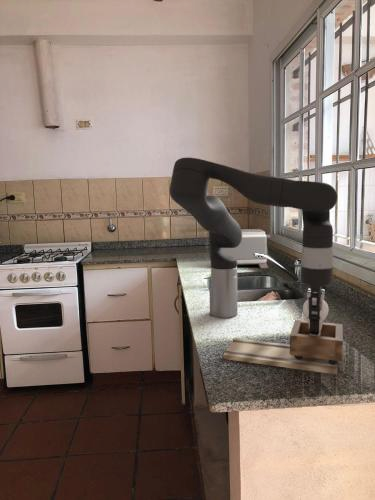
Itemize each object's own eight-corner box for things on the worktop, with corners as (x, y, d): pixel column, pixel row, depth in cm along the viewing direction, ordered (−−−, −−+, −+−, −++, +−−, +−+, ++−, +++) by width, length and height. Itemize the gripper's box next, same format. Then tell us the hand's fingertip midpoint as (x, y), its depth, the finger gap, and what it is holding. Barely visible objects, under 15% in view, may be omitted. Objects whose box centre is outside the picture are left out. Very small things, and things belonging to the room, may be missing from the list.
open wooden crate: (289, 361, 96) (289, 335, 95) (294, 343, 107) (295, 319, 106) (341, 368, 91) (342, 341, 90) (341, 348, 102) (342, 324, 101)
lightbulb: (311, 345, 95) (312, 302, 93) (297, 336, 100) (298, 295, 99) (332, 341, 96) (334, 299, 94) (318, 333, 102) (319, 292, 100)
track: (223, 358, 102) (223, 353, 102) (234, 342, 113) (234, 336, 113) (337, 374, 92) (337, 368, 92) (337, 354, 103) (337, 348, 103)
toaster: (273, 267, 218) (274, 231, 215) (213, 269, 218) (212, 233, 215) (266, 261, 237) (266, 228, 234) (211, 263, 237) (210, 230, 234)
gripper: (332, 271, 88) (329, 342, 90) (333, 260, 101) (331, 322, 103) (298, 269, 90) (296, 338, 93) (303, 258, 104) (302, 319, 106)
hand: (314, 329), depth 98 cm, fingers closed on lightbulb, 5 cm apart
